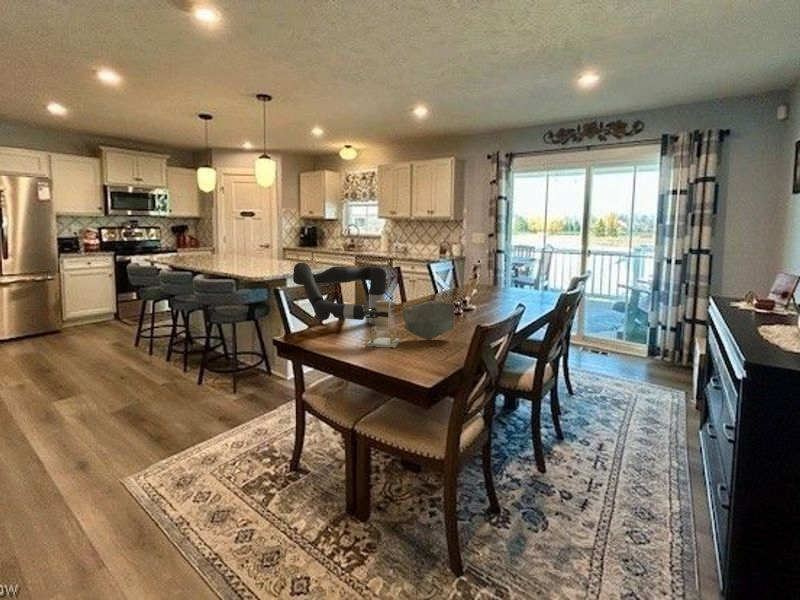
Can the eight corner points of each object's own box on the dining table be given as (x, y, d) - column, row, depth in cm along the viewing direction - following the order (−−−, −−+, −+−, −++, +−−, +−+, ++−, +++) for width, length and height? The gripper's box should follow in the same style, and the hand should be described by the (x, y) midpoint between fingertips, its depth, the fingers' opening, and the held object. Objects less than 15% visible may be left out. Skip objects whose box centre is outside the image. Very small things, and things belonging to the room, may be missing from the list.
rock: (403, 342, 215) (403, 302, 212) (401, 338, 221) (401, 300, 218) (455, 340, 219) (456, 301, 215) (452, 337, 225) (453, 299, 221)
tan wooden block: (377, 328, 214) (378, 300, 211) (389, 328, 213) (390, 300, 210) (376, 330, 210) (376, 301, 207) (388, 330, 209) (388, 302, 206)
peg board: (372, 339, 220) (372, 329, 219) (399, 340, 217) (399, 330, 216) (366, 346, 208) (366, 335, 207) (395, 347, 206) (395, 337, 205)
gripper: (350, 307, 204) (386, 308, 202) (358, 301, 218) (391, 303, 216) (350, 322, 206) (386, 324, 203) (358, 316, 220) (391, 318, 217)
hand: (388, 313), depth 209 cm, fingers closed on tan wooden block, 4 cm apart
